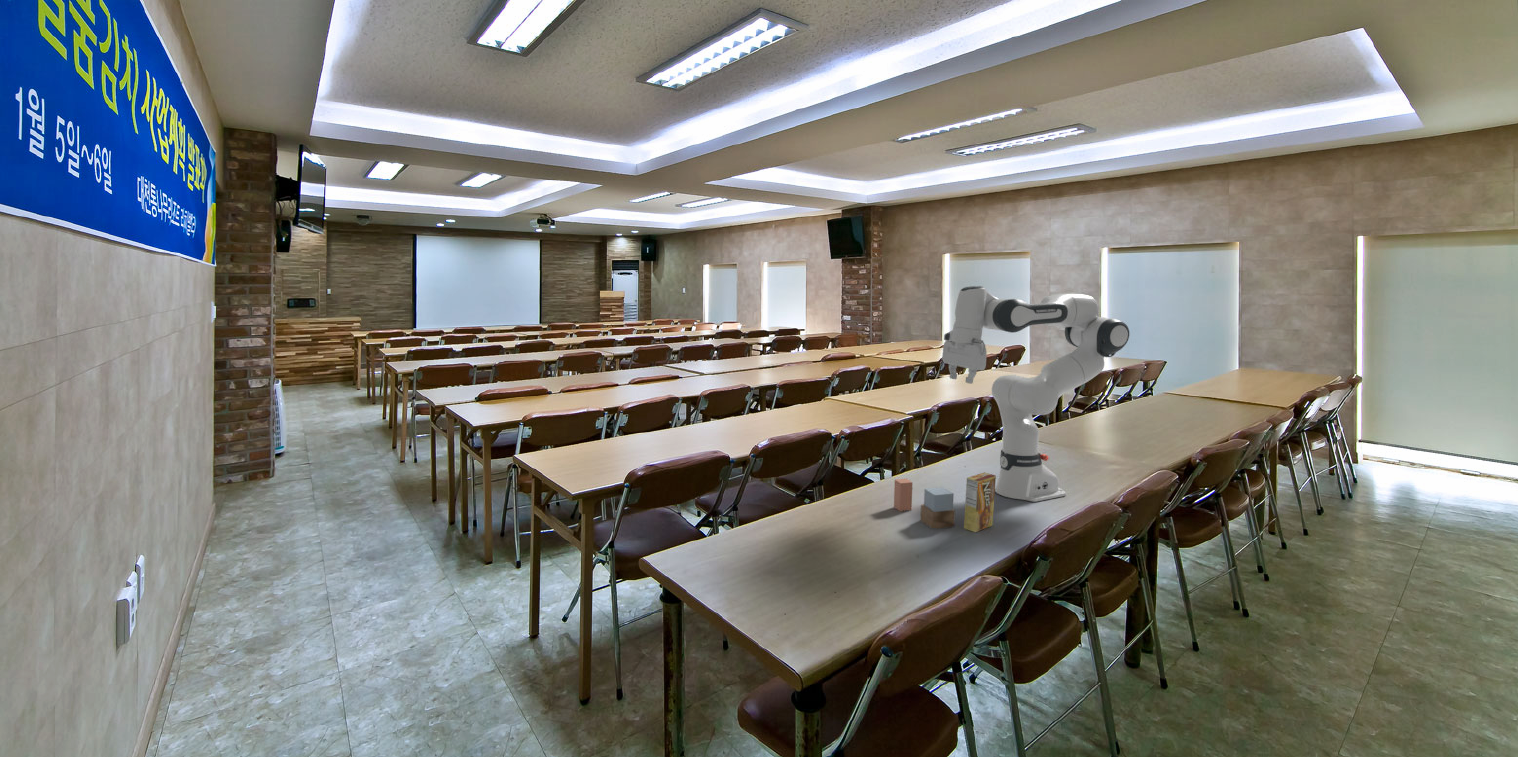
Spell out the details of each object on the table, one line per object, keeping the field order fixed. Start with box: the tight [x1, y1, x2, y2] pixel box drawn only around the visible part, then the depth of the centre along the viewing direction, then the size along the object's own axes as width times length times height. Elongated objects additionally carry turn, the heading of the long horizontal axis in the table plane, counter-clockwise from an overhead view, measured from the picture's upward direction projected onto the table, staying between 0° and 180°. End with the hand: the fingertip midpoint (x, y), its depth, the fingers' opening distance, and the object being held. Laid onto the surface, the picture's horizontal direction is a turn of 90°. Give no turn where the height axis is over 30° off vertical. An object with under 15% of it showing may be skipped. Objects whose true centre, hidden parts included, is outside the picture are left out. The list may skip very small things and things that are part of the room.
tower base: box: [920, 503, 956, 530], centre depth 199 cm, size 7×7×5 cm
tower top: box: [923, 486, 955, 512], centre depth 198 cm, size 6×6×5 cm
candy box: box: [963, 472, 997, 533], centre depth 195 cm, size 9×4×15 cm, turn 129°
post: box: [893, 478, 913, 512], centre depth 211 cm, size 4×4×9 cm
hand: (960, 381), depth 215 cm, fingers open, 8 cm apart
